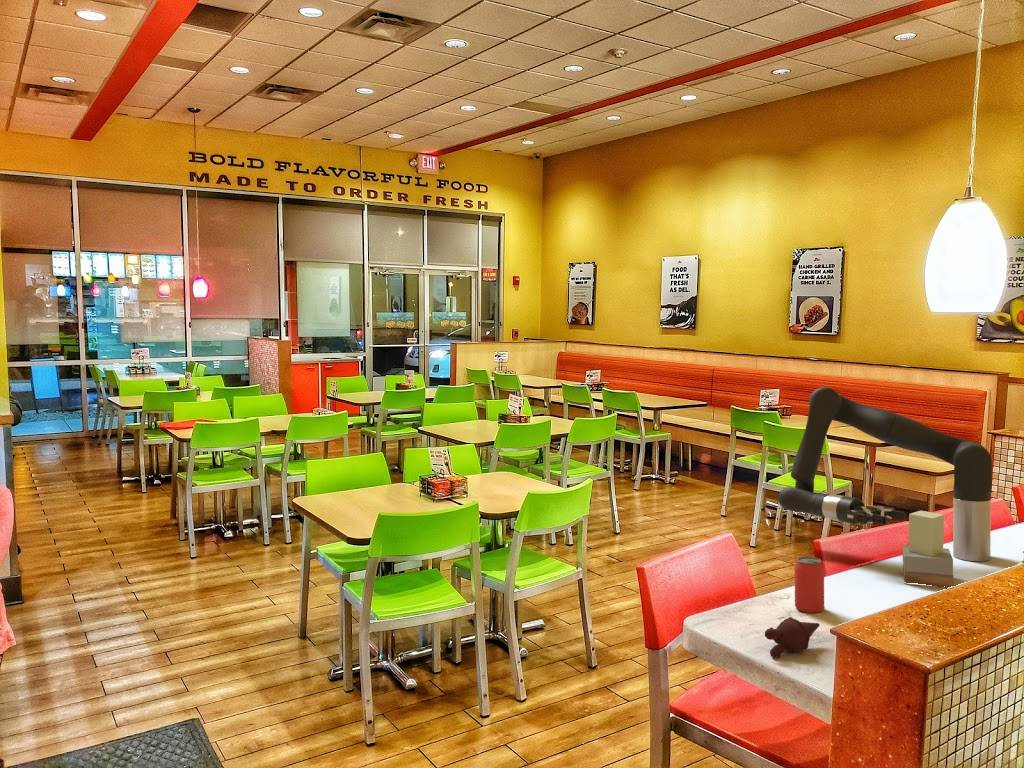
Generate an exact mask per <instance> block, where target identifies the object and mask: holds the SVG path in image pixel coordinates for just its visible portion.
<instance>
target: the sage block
mask: <svg viewBox="0 0 1024 768" xmlns="http://www.w3.org/2000/svg"><path fill="white" fill-rule="evenodd" d="M944 526H945V515H944V514H943V513H937V512H936V513H935V512H931V511H925V510H918V511H915V512H911V513H909V515H908V546H909V547H908V551H910V552H915V553H919V554H923V555H928V556H934V555H937V554H940V553H942V552H943V548H944V534H945V533H944V531H945V527H944Z"/></svg>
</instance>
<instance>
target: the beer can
mask: <svg viewBox="0 0 1024 768" xmlns="http://www.w3.org/2000/svg"><path fill="white" fill-rule="evenodd" d="M793 569H794V606H795V608H796V609H797V610H798V611H801V612H803V613H808V614H817V613H821V612H823V611H824V610H825V569H824V565H823V561H822V559H820V558H817V557H814V556H813V557H812V556H801V557H797V559H796V561H795V564H794V568H793Z"/></svg>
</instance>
